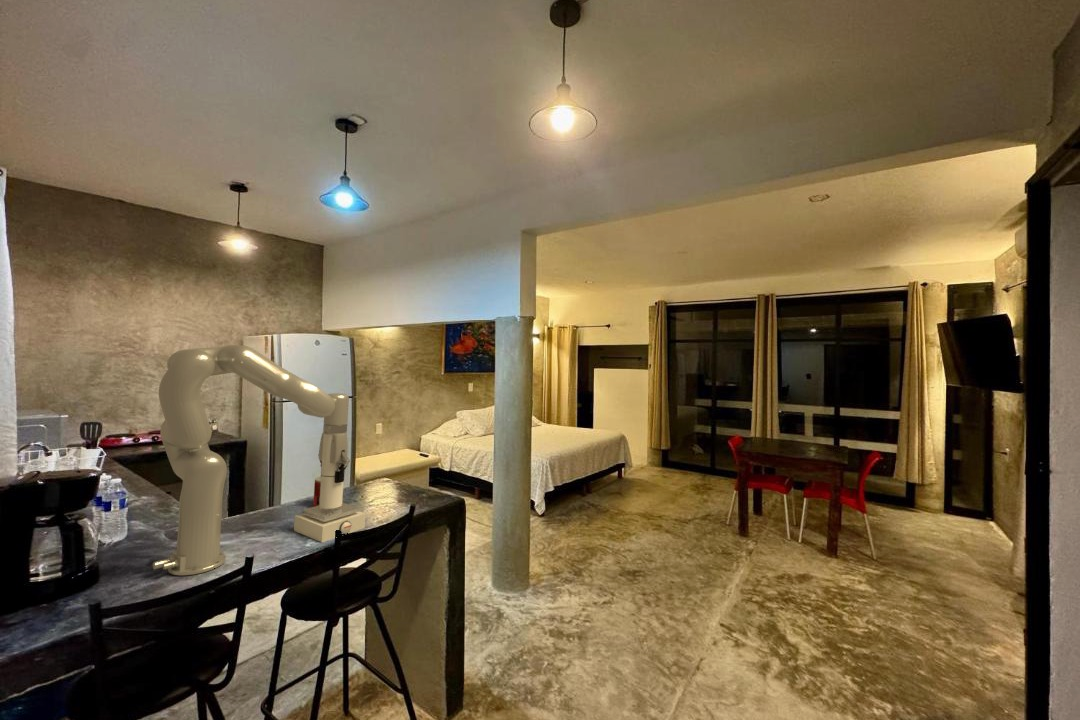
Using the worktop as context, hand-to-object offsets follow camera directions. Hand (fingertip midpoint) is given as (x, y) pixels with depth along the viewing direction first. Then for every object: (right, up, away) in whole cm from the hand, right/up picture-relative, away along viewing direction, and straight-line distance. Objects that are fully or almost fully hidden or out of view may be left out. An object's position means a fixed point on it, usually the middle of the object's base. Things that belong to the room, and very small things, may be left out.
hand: (332, 479), depth 150 cm
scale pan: (0, -11, 0) cm, 11 cm away
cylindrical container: (0, -9, 0) cm, 9 cm away
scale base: (-1, -17, 0) cm, 17 cm away
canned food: (-15, -17, +23) cm, 32 cm away
